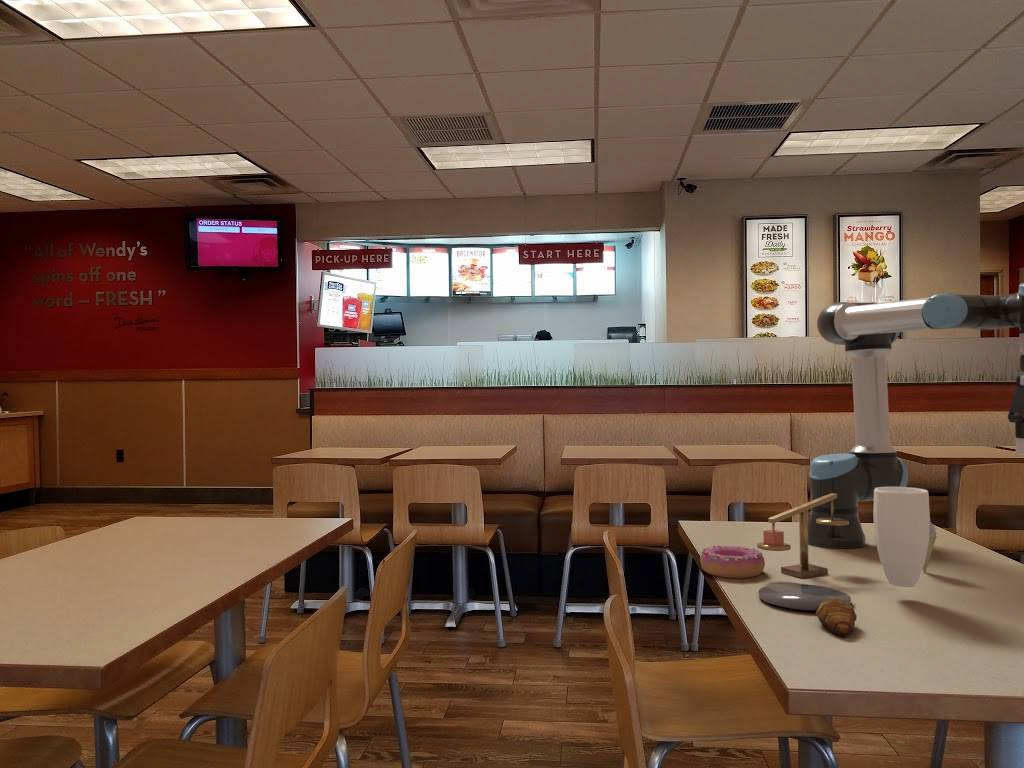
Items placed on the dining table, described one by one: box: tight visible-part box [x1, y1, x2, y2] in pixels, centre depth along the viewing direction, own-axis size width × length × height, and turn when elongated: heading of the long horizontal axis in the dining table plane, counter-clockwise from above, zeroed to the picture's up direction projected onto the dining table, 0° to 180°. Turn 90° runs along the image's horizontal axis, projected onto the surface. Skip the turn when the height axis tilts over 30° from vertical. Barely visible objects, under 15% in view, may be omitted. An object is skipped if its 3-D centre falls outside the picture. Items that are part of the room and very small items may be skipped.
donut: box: [699, 545, 766, 579], centre depth 174 cm, size 14×14×5 cm
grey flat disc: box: [757, 583, 852, 612], centre depth 150 cm, size 17×17×1 cm
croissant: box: [815, 599, 857, 637], centre depth 134 cm, size 14×7×5 cm, turn 169°
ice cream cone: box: [922, 517, 938, 573], centre depth 171 cm, size 5×5×15 cm
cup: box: [872, 486, 931, 588], centre depth 150 cm, size 10×10×22 cm
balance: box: [756, 493, 849, 579], centre depth 171 cm, size 25×7×17 cm, turn 116°
